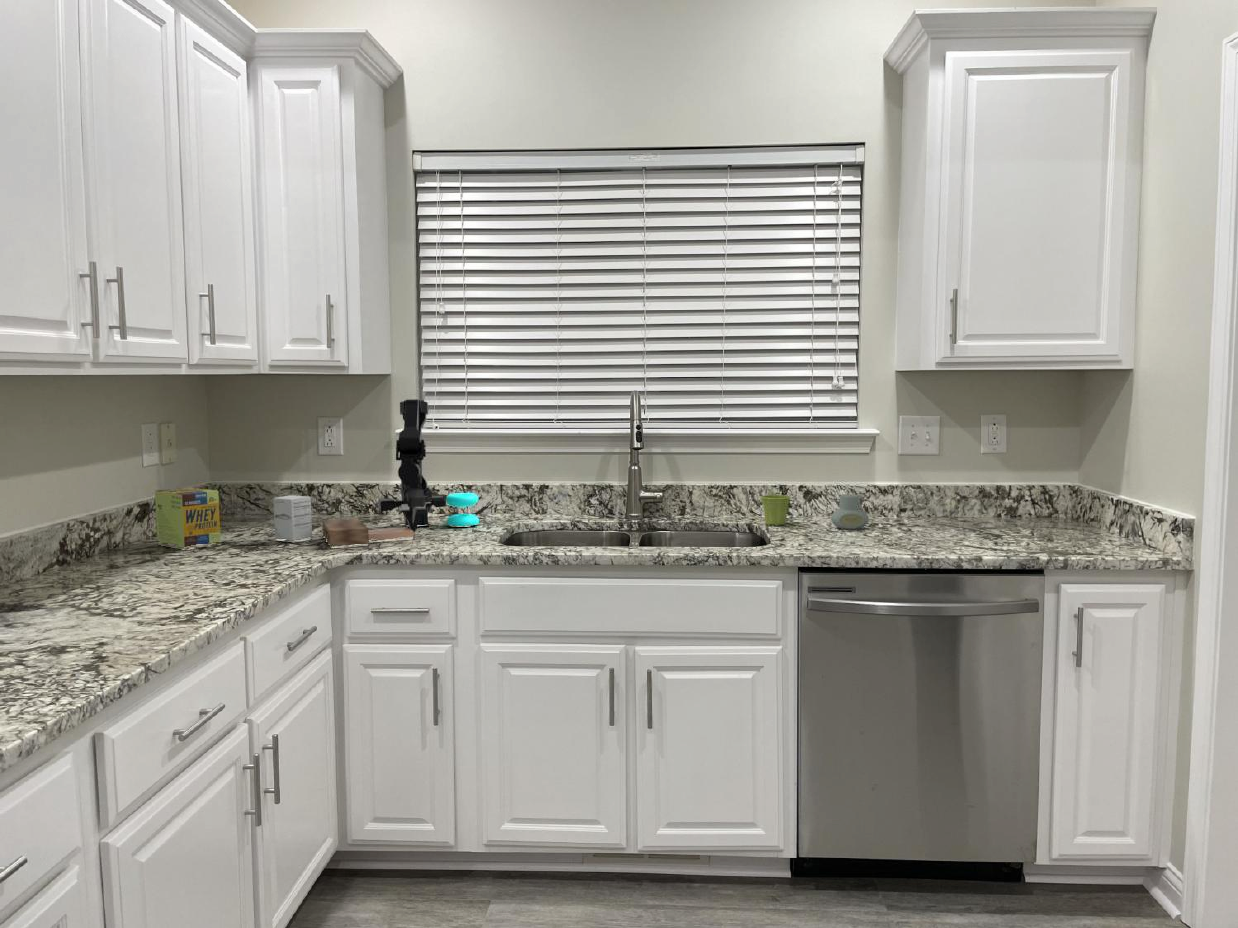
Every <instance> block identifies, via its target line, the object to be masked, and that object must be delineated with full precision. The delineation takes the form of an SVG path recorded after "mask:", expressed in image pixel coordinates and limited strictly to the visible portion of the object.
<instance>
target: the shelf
mask: <svg viewBox="0 0 1238 928" xmlns="http://www.w3.org/2000/svg"><path fill="white" fill-rule="evenodd" d="M321 523H322V526H321V527H322V537H323V536H325V539H327V542H328V543H330V546H331V547H332V546H342V545H351V544H367V543H369V535H368V530H369V527H367V525H366V524H365V523H363V522H362V521H361V520H360V519H359V518H346V519H343V518H342V519H330V520H329V519H328V520H322V521H321ZM325 539H324V540H325ZM330 546H329V547H330Z"/></svg>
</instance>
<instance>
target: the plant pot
mask: <svg viewBox="0 0 1238 928" xmlns="http://www.w3.org/2000/svg"><path fill="white" fill-rule="evenodd" d="M759 498H760V499H761V504H762V507H763V512H764V513H763V514H764V515H763V516H764V522H765V525H768V526H771V525H773V526H784V525H786V523H787V514H788V508H789V503H790V499H791V498H792V496H791V495H785V494H784V495H783V494H763V495H760V496H759Z"/></svg>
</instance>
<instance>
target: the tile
mask: <svg viewBox="0 0 1238 928" xmlns="http://www.w3.org/2000/svg"><path fill="white" fill-rule="evenodd" d="M368 535H369V540H371V539H393V538H399V537H408V536H414V533H413V530H411V529H410V528H408V527H407V526H405V527H403V526H402V527H392V528H391V527H390V528H379V529H378V528H377V529H368Z"/></svg>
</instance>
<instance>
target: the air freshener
mask: <svg viewBox="0 0 1238 928" xmlns="http://www.w3.org/2000/svg"><path fill="white" fill-rule="evenodd" d="M830 520H831V523H832V524H833V525H834V526H835V527H838V528H839V529H842V530H845V529H846V531H856V529H857V530H859V529H862V528H864V527H865V526H867V525H868V523H869V521H870V516H869V515H868V514H867V511H864V510H863V509H861V496H860V495H859V494H853V493H852V494H851V493H845V494H841V495H840V496H839V508H838V509H836V510H835V511H833V512H832V514H831V515H830Z"/></svg>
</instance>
